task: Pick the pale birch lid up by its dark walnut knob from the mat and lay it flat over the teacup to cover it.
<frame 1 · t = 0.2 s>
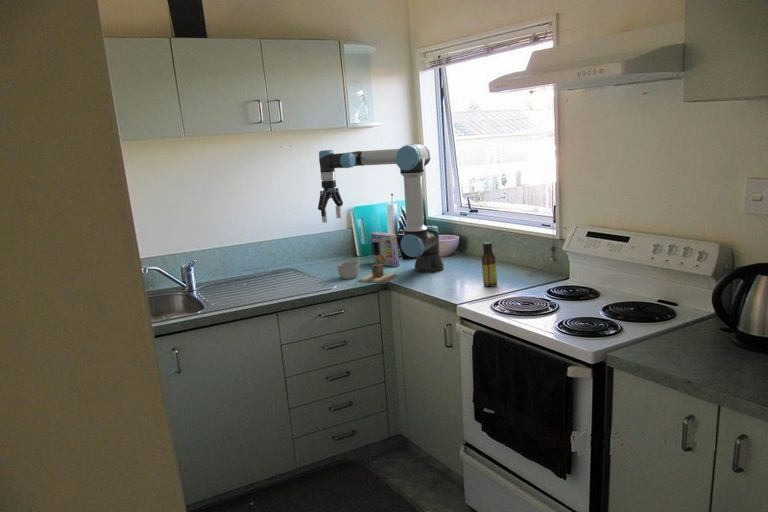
hand: (332, 220, 305), 28 cm above the table, tool pointing down, fingers open, 13 cm apart
teacup: (349, 277, 295), on the table
lid: (378, 278, 287), resting on mat
mat: (378, 279, 287), on the table
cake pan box: (385, 264, 318), on the table
sauce bottle: (489, 286, 261), on the table
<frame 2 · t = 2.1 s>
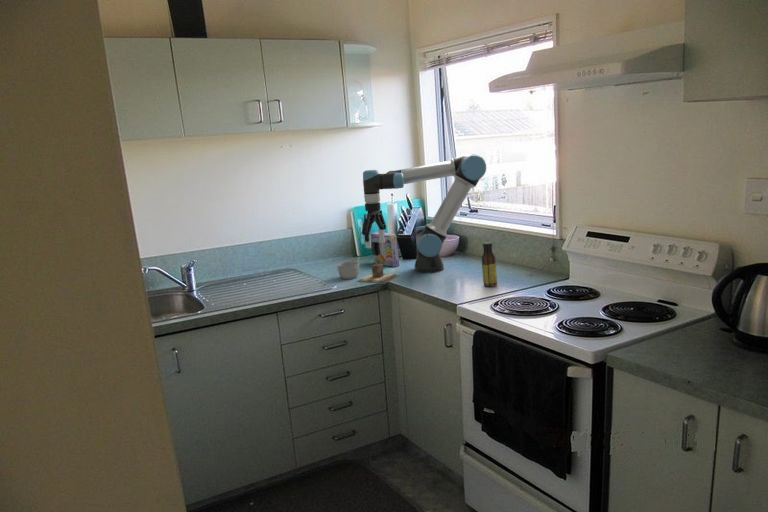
hand: (375, 245, 283), 17 cm above the table, tool pointing down, fingers open, 13 cm apart
nothing on the table moved.
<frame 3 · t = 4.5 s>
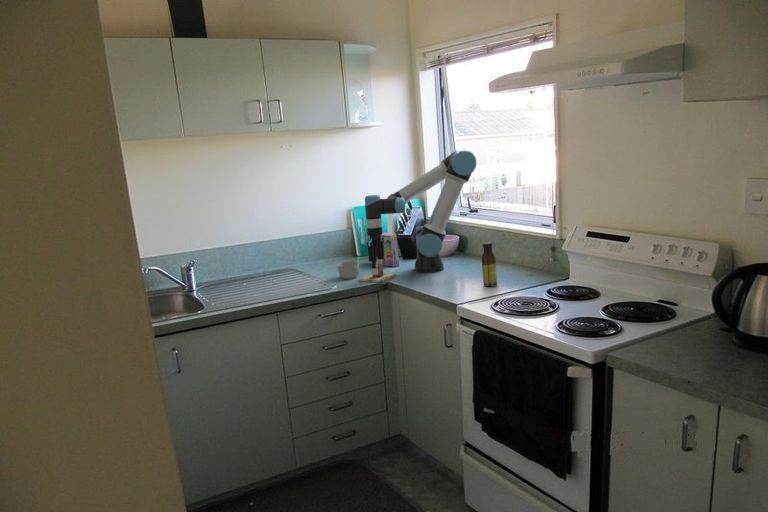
hand: (377, 273, 286), 3 cm above the table, tool pointing down, fingers closed on lid, 4 cm apart
lid: (378, 278, 287), resting on mat, touching gripper
everything else where it was.
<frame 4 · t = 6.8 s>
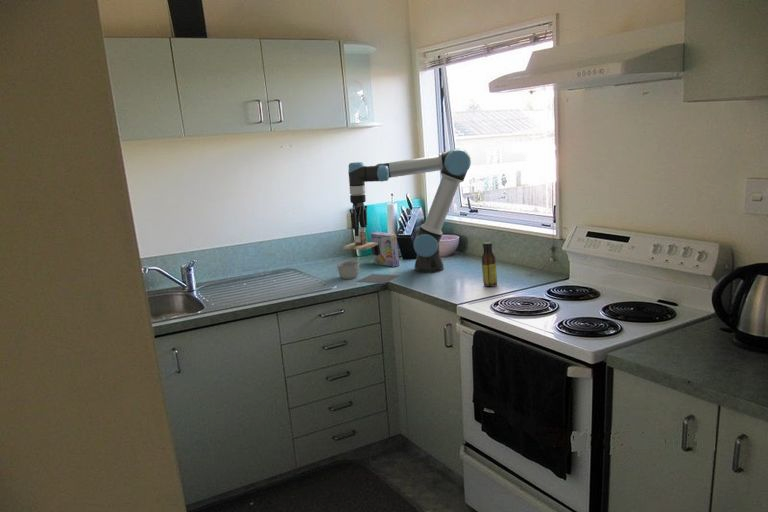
hand: (360, 241, 287), 19 cm above the table, tool pointing down, fingers closed on lid, 4 cm apart
lid: (360, 246, 287), point 16 cm above the table, touching gripper
everything else where it was.
when the fingers open (13 cm above the table, at t = 9.1 s): lid drops 2 cm, resting on teacup.
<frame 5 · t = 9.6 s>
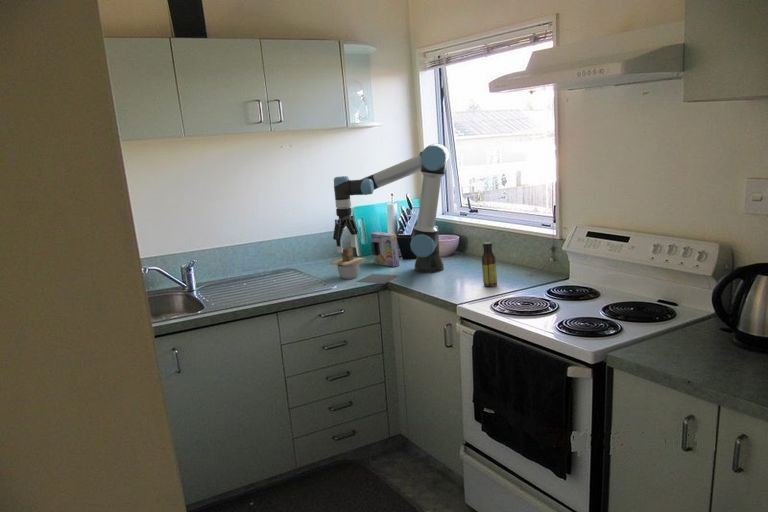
hand: (347, 249, 292), 14 cm above the table, tool pointing down, fingers open, 12 cm apart
teacup: (349, 277, 295), on the table, touching lid
lid: (348, 262, 293), point 8 cm above the table, touching teacup
everything else where it was.
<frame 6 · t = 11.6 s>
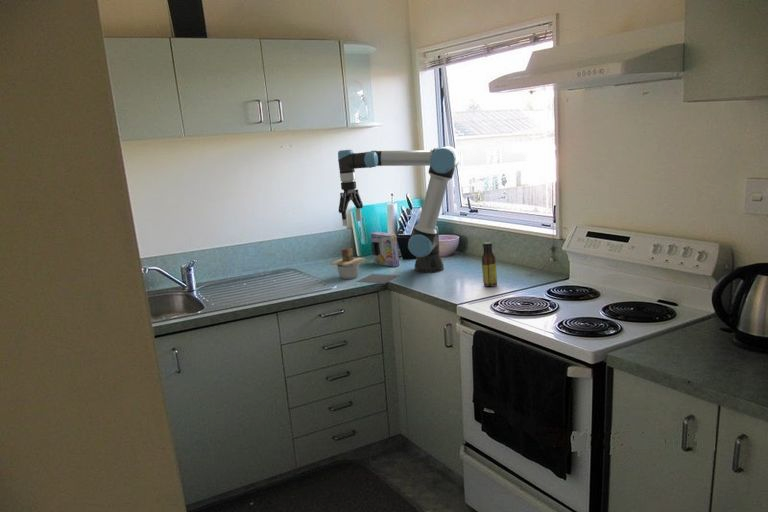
hand: (352, 223, 291), 27 cm above the table, tool pointing down, fingers open, 13 cm apart
nothing on the table moved.
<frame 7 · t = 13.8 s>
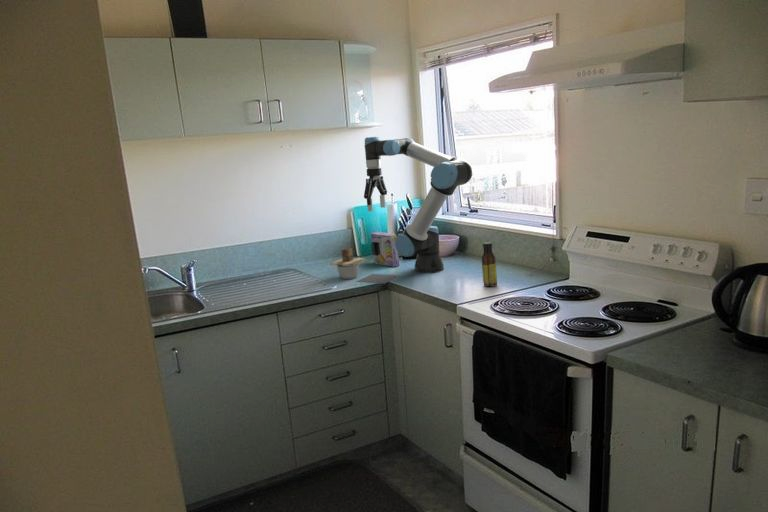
hand: (376, 209, 297), 33 cm above the table, tool pointing down, fingers open, 13 cm apart
nothing on the table moved.
at the end: lid 0.3 cm off-centre on the teacup, point 8.2 cm above the teacup's base; lid touching teacup; lid tilted 0° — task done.
